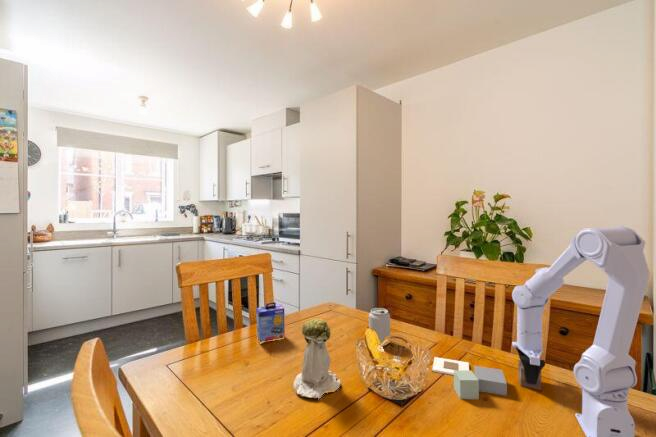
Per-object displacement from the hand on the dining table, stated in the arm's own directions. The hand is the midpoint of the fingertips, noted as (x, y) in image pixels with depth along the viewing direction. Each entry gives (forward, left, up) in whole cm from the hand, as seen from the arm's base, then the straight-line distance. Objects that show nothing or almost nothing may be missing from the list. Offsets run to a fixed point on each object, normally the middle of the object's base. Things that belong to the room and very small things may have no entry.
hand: (529, 378), depth 85 cm
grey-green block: (-11, +16, -2) cm, 19 cm away
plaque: (+1, +20, -1) cm, 20 cm away
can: (+10, +44, -2) cm, 45 cm away
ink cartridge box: (-1, +83, -2) cm, 83 cm away
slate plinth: (-5, +10, -2) cm, 11 cm away
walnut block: (0, 0, -1) cm, 1 cm away
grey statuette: (-22, +54, -2) cm, 58 cm away
